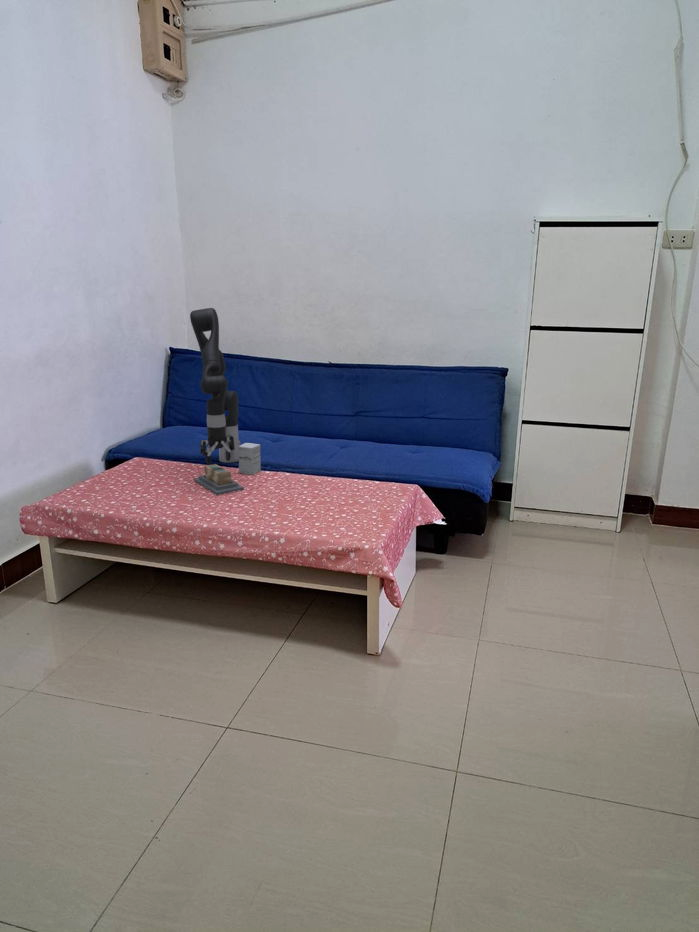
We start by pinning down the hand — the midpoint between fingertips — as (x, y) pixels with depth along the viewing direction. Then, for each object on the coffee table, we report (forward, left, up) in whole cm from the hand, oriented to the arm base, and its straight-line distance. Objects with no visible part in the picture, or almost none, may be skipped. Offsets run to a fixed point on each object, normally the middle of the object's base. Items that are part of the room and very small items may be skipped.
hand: (218, 462), depth 274 cm
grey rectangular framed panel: (+1, 0, -10) cm, 10 cm away
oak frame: (+1, 0, -9) cm, 9 cm away
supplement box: (-19, -9, -10) cm, 24 cm away
